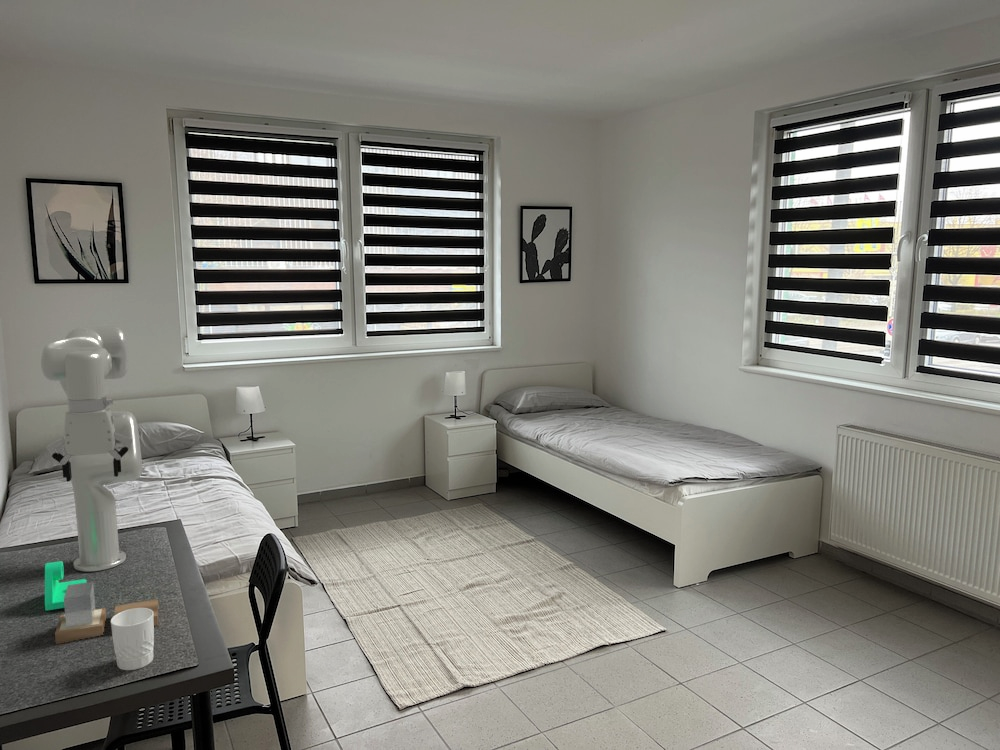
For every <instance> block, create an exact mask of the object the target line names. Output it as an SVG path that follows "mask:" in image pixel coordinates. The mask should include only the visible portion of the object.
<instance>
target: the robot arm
mask: <svg viewBox="0 0 1000 750" xmlns="http://www.w3.org/2000/svg"><path fill="white" fill-rule="evenodd" d="M125 334H126V333H124V331H123V330H122V329H121V328H119V327H117V326H90V327H89V326H87V327H86V326H85V327H79V328H77V327H76V328H74V329H72V330H71V331H69V332H68V333H67V334H66V336H65V338H64V339H61V340H55V341H53V342H49V343H46V345H45V346H44V347H43V349H42V353H41V358H40V368H41V372H42V374H43V376H44V377H45V378H46V379H47V380H49V381H54V382H55V381H59V383H60V385H61V388H62V390H63V392H64V394H65V395H66V397H67V407H68V408H67V409H68V411H67V410H66V411H65V414H64V425H63V437H61V438H59V439H57V440H56V441H54V442H53V441H52V442H51V443H50V444H48V445H46V451H47V452H48V453H49V454H50V455H51V457H52V458H53V460H55V461H57V462H58V463H60V465H61V468H62V477H63V478H66V479H65V480H66V482H67V483H69V482H71V486H72V491H73V497H74V505H75V516H76V517H75V518H76V528H77V529H76V530H77V542H78V552H79V557H77V558H76V559H75V560H73V568H74V569H75V570H76V571H80V572H99V571H104V570H110V569H112V568H114V567H117V566H119V565H121V564H123V563H124V562H125V561H126V559H127V555H126V552H125V551H123V550H120V547H119V533H118V532H119V531H118V518H117V506H116V499H115V496H114V495H113V493H112V492H111V491H110V489H108V488H107V487H105V486H104V485H109V484H117V483H126V482H132V481H135V480H136V481H137V480H138V479H140V477H141V476H142V473H143V460H142V451H141V443H140V442H141V441H140V433H139V426H138V422H137V421H138V420H137V419H136V416H135V415H134V414H133V413H132V412H131V411H126V410H120V411H119V410H118V411H112V410H111V408H108V406H110V405H114V398H108V397H107V396H106V385H105V380H118V379H121V378H123V377H125V376H126V375H127V373H128V370H129V359H128V357H129V356H128V355H129V354H128V353H129V351H128V349H129V348H128V341H127V340H128V339H127V336H126V335H125ZM62 445H63V446H64V453H65V454H64V455H63V454H61V453H60V452H58V451H57V449H56V448H58V447H60V446H62ZM116 446H118V447H116Z"/></svg>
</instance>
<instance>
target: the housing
mask: <svg viewBox="0 0 1000 750" xmlns="http://www.w3.org/2000/svg"><path fill="white" fill-rule="evenodd" d="M94 587H95V586H94V581H88V582H86V583H80V584H73V585H68V586H67V590H66V593H65V596H64V607H65V608H64V614H65V618H66V628H72V627H78V626H84V625H90V624H93V620H94V615H95V609H96V602H95V601H96V600H95V599H96V598H95V589H94Z"/></svg>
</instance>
